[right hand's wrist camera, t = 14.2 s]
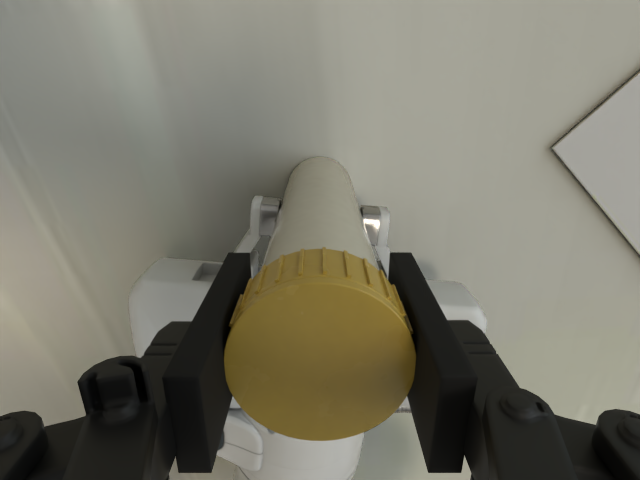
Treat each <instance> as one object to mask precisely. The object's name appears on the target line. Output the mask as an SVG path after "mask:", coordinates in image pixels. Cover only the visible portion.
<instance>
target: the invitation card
mask: <svg viewBox="0 0 640 480" xmlns="http://www.w3.org/2000/svg"><path fill="white" fill-rule="evenodd" d="M552 149H553V150H554V152H555V153H556V154H557V155H558V156H559V158H560V159H561V160H562V161H563V163H564V164H565V165H566V166H567V167H568V169H569V170H570V171H571V172H572V174H573V175H574V176H575V177H576V178H577V180H578V181H579V182H580V183H581V185H582V186H583V187H584V188H585V189H586V191H587V192H588V193H589V194H590V196H591V197H592V198H593V199H594V200H595V202H596V203H597V204H598V205H599V206H600V208H601V209H602V210H603V211H604V213H605V214H606V215H607V216H608V217H609V219H610V220H611V221H612V222H613V224H614V225H615V226H616V227H617V228H618V230H619V231H620V232H621V233H622V235H623V236H624V237H625V238H626V239H627V241H628V242H629V243H630V244H631V245H632V247H633V248H634V249H635V250H636V252H637V253H638V254H639V255H640V71H639V72H638V73H637V74H636V75H635V76H633V77H632V78H631V79H630V80H629V81H628V82H626V83H625V84H624V85H623V86H622V87H621V88H620V89H618V90H617V91H616V92H615V93H614V94H613V95H612V96H610V97H609V98H608V99H607V100H606V101H605V102H603V103H602V104H601V105H600V106H599V107H598V108H597V109H595V110H594V111H593V112H592V113H591V114H590V115H588V116H587V117H586V118H585V119H584V120H583V121H582V122H580V123H579V124H578V125H577V126H576V127H575V128H573V129H572V130H571V131H570V132H569V133H568V134H567V135H565V136H564V137H563V138H562V139H561V140H560V141H559V142H557V143H556V144H555V145H554V146H553V147H552Z"/></svg>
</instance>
